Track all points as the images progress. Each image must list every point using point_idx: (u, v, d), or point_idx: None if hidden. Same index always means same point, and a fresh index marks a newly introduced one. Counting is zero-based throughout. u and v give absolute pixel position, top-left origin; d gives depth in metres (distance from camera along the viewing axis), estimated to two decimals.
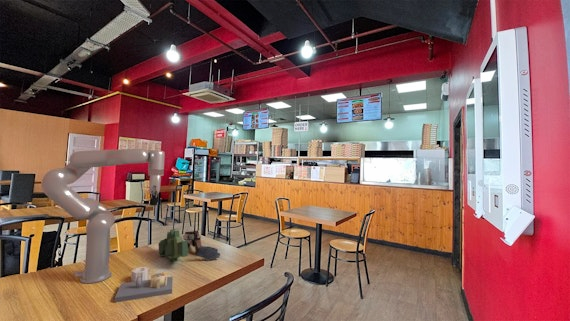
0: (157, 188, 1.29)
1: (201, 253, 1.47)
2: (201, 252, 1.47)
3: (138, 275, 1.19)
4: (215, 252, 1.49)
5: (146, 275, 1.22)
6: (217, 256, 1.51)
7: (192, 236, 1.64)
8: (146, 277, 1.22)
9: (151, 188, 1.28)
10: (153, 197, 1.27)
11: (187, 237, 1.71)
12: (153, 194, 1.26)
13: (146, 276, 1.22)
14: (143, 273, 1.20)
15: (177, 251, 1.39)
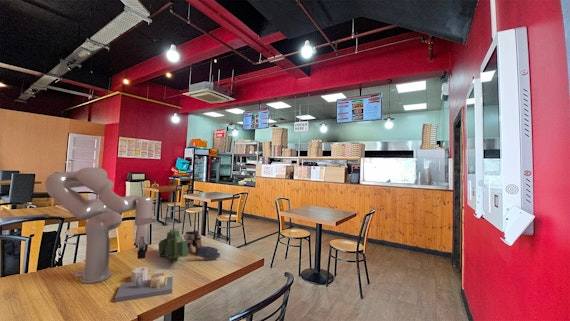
0: (145, 239, 1.19)
1: (201, 253, 1.47)
2: (201, 252, 1.47)
3: (138, 275, 1.19)
4: (215, 252, 1.49)
5: (146, 275, 1.22)
6: (217, 256, 1.51)
7: (192, 236, 1.64)
8: (146, 277, 1.22)
9: (138, 240, 1.17)
10: (141, 250, 1.17)
11: (188, 237, 1.71)
12: (140, 247, 1.15)
13: (146, 276, 1.22)
14: (143, 273, 1.20)
15: (177, 251, 1.39)
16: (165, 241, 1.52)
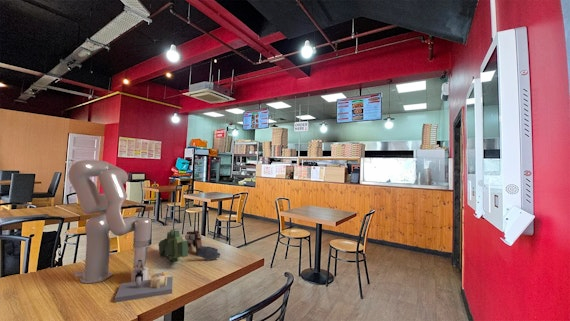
0: (143, 262, 1.18)
1: (201, 253, 1.47)
2: (201, 252, 1.47)
3: None
4: (215, 252, 1.49)
5: (146, 275, 1.22)
6: (217, 256, 1.51)
7: (193, 236, 1.64)
8: (146, 277, 1.22)
9: (136, 264, 1.17)
10: (138, 274, 1.17)
11: (188, 237, 1.71)
12: (138, 272, 1.16)
13: (146, 276, 1.22)
14: (143, 273, 1.20)
15: (177, 251, 1.39)
16: (165, 241, 1.52)
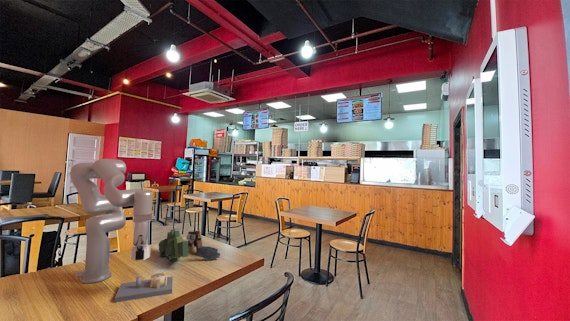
0: (144, 238, 1.08)
1: (201, 253, 1.47)
2: (201, 252, 1.47)
3: None
4: (215, 252, 1.49)
5: (148, 253, 1.11)
6: (217, 256, 1.51)
7: (194, 236, 1.65)
8: (148, 255, 1.11)
9: (136, 240, 1.06)
10: (139, 250, 1.07)
11: (189, 237, 1.71)
12: (139, 248, 1.05)
13: (148, 253, 1.11)
14: (144, 250, 1.09)
15: (177, 251, 1.39)
16: (165, 241, 1.52)
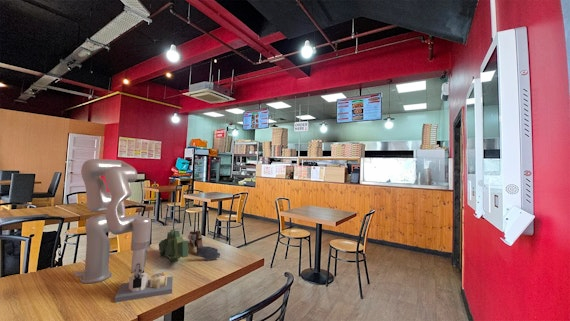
0: (141, 266, 1.07)
1: (201, 253, 1.47)
2: (201, 252, 1.47)
3: None
4: (215, 252, 1.49)
5: (145, 282, 1.11)
6: (217, 256, 1.51)
7: (194, 236, 1.65)
8: (145, 284, 1.11)
9: (134, 267, 1.06)
10: (136, 279, 1.06)
11: (190, 237, 1.71)
12: (136, 276, 1.04)
13: (145, 283, 1.11)
14: (142, 280, 1.09)
15: (177, 251, 1.39)
16: (165, 241, 1.52)
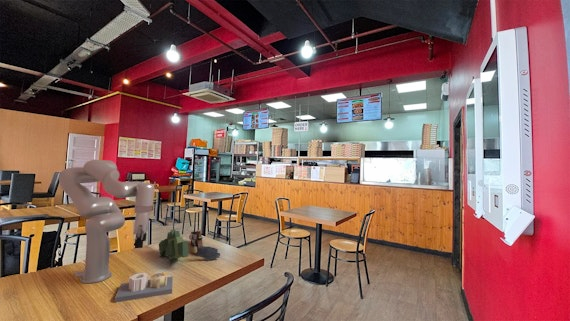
0: (143, 228, 1.13)
1: (201, 253, 1.47)
2: (201, 252, 1.47)
3: (136, 282, 1.08)
4: (215, 252, 1.49)
5: (145, 282, 1.11)
6: (217, 256, 1.51)
7: (195, 236, 1.65)
8: (145, 284, 1.11)
9: (136, 228, 1.12)
10: (138, 239, 1.11)
11: (191, 237, 1.71)
12: (138, 236, 1.10)
13: (145, 283, 1.11)
14: (142, 280, 1.09)
15: (177, 251, 1.38)
16: (165, 241, 1.52)
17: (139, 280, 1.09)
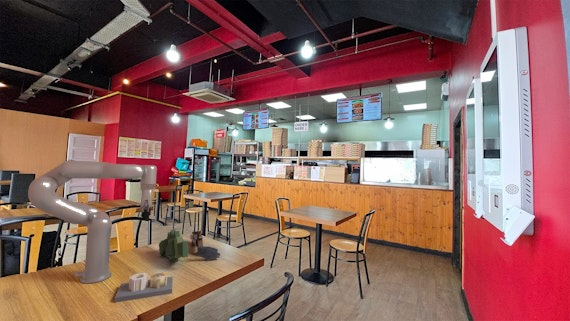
0: (149, 202, 1.33)
1: (201, 253, 1.47)
2: (201, 252, 1.47)
3: (136, 282, 1.08)
4: (215, 252, 1.49)
5: (145, 282, 1.11)
6: (217, 256, 1.51)
7: (195, 236, 1.65)
8: (145, 284, 1.11)
9: (143, 202, 1.31)
10: (145, 211, 1.31)
11: (192, 237, 1.72)
12: (145, 208, 1.29)
13: (145, 283, 1.11)
14: (142, 280, 1.09)
15: (177, 251, 1.38)
16: (165, 241, 1.52)
17: (139, 280, 1.09)
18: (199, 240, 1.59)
